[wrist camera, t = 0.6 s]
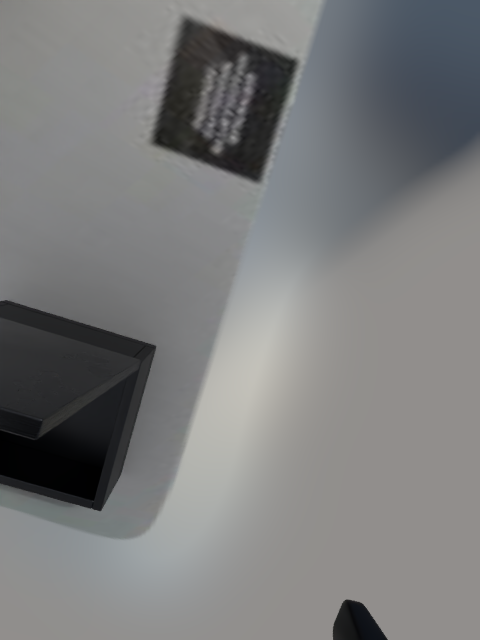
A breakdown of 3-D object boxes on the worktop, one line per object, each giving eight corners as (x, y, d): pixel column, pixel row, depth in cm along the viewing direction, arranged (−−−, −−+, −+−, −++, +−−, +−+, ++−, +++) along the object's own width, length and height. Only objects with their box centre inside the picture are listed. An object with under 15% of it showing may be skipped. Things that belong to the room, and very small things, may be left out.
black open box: (120, 475, 26) (100, 511, 22) (-20, 435, 25) (-63, 466, 21) (156, 345, 24) (141, 362, 20) (6, 299, 23) (-38, 308, 20)
